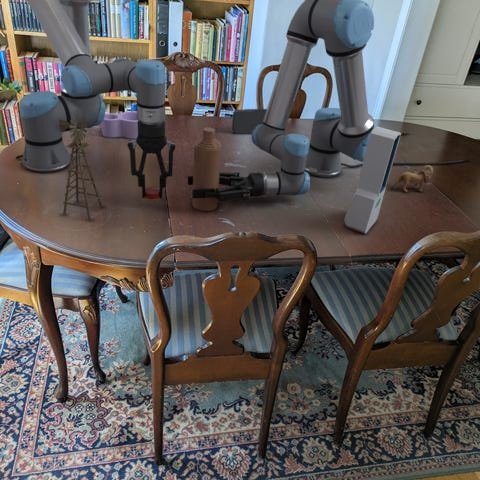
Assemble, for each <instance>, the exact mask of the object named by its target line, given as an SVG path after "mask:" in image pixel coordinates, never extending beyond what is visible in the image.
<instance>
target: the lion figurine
mask: <svg viewBox="0 0 480 480" xmlns="http://www.w3.org/2000/svg"><path fill="white" fill-rule="evenodd" d="M421 168H422V169H420V170H419V172H415V173H413V172H409V171H404V172H402V173H401V174H400V175H399V177H398V178H397V180H396V181H395V182H394V185H393V188H392V190H396V189H397V188H398V184H400V183H403V184H402V189H403V192H405V193H408V189H406V187H407V186H408V185H409V184H410V183H411V184H413V188H414V189H418V192H421V193H422V192H423V190H422V188H423V187H424V184H425V183H427V182H429V181H430V179H431V177H432V175H433V173H434V168H433V166H432V165H423V166H422V167H421ZM418 184H419V186H418Z"/></svg>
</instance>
